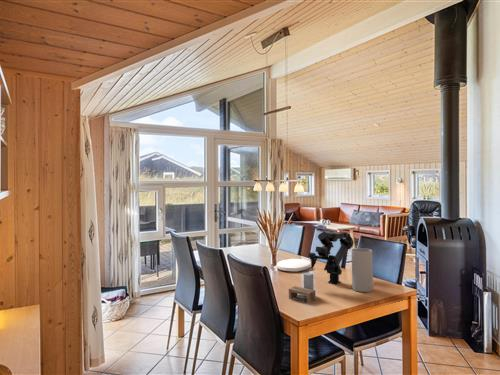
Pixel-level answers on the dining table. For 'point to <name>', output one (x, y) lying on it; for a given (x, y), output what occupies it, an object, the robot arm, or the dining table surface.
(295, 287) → the brown hollow brick
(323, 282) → the dining table surface
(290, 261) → the plate
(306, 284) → the tall grey prism
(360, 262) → the cylinder vase
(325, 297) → the dining table surface
